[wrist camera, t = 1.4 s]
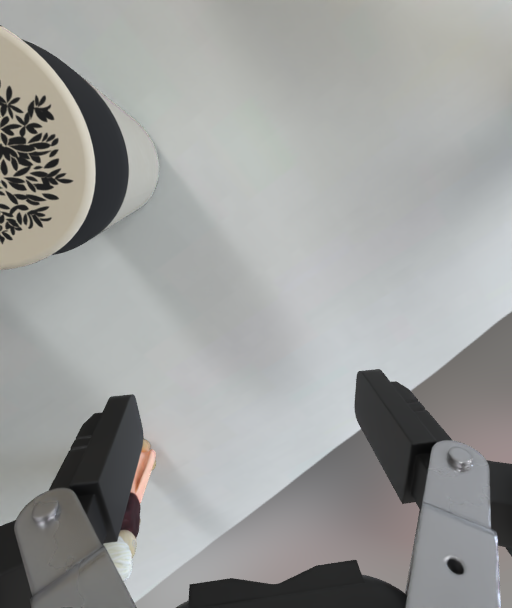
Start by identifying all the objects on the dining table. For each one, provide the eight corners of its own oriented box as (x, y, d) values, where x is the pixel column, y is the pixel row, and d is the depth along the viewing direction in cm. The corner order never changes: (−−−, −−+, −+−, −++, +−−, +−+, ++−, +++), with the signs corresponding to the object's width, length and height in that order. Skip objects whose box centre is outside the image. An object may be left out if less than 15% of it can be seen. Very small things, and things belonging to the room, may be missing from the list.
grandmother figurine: (169, 469, 39) (157, 597, 27) (137, 481, 39) (111, 614, 27) (140, 419, 36) (112, 539, 24) (106, 432, 36) (61, 559, 24)
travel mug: (172, 203, 29) (135, 248, 12) (77, 225, 28) (-98, 303, 12) (140, 96, 26) (33, -43, 9) (33, 118, 25) (-291, 14, 8)
